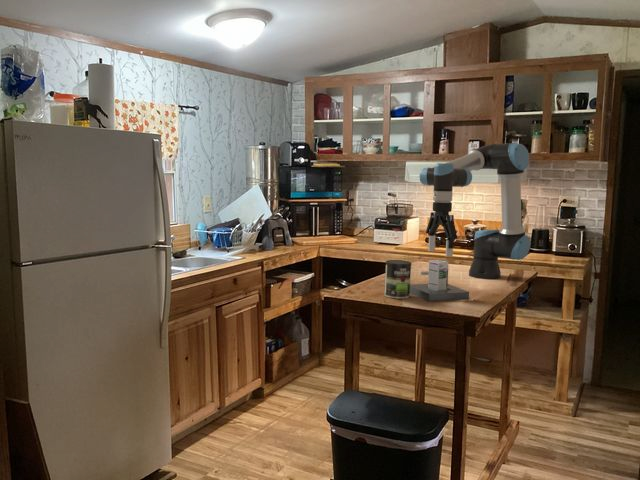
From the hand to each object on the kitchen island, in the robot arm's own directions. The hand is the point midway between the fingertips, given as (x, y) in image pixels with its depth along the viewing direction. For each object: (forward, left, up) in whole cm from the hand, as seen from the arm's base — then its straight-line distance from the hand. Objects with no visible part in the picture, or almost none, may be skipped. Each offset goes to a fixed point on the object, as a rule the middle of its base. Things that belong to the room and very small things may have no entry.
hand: (440, 253), depth 224 cm
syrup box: (0, 0, -18) cm, 18 cm away
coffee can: (+17, -3, -18) cm, 25 cm away
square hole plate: (0, 0, -17) cm, 17 cm away
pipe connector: (-9, -20, -18) cm, 28 cm away
